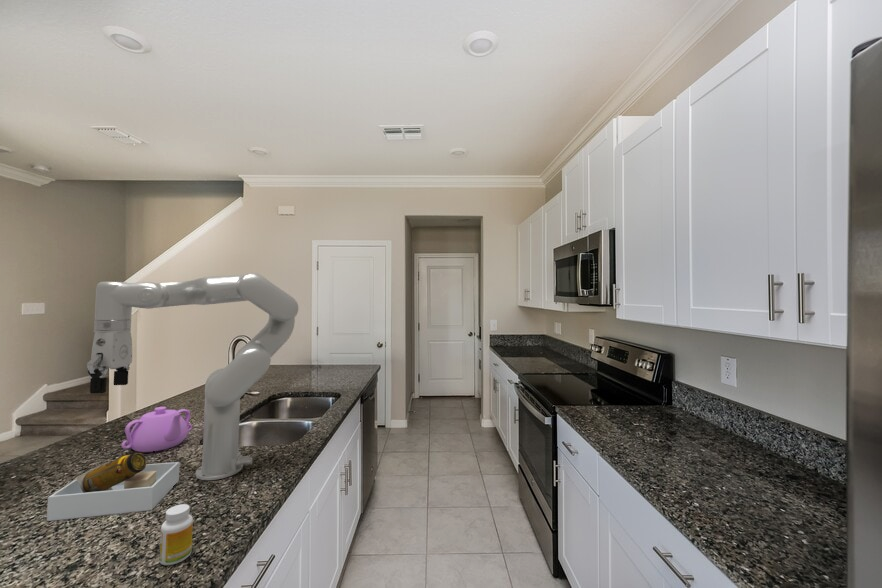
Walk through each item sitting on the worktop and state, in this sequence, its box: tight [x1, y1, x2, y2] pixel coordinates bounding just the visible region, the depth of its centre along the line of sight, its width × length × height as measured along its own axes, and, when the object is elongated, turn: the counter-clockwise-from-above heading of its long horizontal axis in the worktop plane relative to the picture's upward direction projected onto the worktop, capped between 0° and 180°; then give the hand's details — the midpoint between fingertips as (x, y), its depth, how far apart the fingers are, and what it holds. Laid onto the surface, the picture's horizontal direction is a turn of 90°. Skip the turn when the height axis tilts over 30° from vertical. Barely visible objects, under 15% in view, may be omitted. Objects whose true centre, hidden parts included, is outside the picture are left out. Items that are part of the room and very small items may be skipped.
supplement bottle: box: [159, 503, 194, 566], centre depth 74 cm, size 5×5×10 cm
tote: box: [46, 461, 181, 522], centre depth 95 cm, size 21×15×6 cm
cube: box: [124, 471, 156, 489], centre depth 96 cm, size 5×5×5 cm
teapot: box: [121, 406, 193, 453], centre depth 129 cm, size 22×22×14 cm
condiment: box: [75, 451, 147, 493], centre depth 94 cm, size 7×8×12 cm
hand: (109, 388), depth 98 cm, fingers open, 9 cm apart
